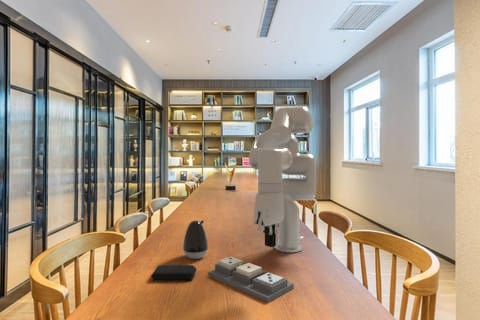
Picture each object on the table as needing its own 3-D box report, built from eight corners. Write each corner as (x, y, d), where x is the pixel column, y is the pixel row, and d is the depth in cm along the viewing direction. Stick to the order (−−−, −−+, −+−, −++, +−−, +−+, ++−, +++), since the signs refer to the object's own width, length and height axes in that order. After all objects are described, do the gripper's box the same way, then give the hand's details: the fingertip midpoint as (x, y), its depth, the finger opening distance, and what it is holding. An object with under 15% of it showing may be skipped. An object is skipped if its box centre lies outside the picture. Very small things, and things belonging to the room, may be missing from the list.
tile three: (268, 278, 100) (268, 271, 100) (283, 284, 96) (283, 277, 96) (256, 284, 96) (256, 277, 96) (271, 290, 92) (271, 283, 92)
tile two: (230, 261, 113) (230, 255, 113) (242, 266, 109) (242, 259, 109) (218, 266, 109) (218, 260, 108) (230, 270, 104) (230, 264, 104)
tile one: (248, 268, 107) (248, 262, 106) (261, 273, 102) (261, 266, 102) (236, 273, 102) (236, 266, 102) (249, 278, 98) (249, 271, 98)
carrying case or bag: (197, 270, 113) (157, 270, 113) (197, 262, 113) (157, 262, 113) (193, 282, 102) (149, 283, 102) (193, 274, 102) (149, 274, 102)
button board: (234, 265, 116) (234, 256, 116) (293, 288, 98) (293, 277, 97) (208, 275, 107) (208, 266, 107) (267, 302, 88) (267, 290, 88)
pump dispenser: (213, 255, 128) (212, 219, 128) (197, 263, 119) (197, 224, 119) (194, 251, 133) (193, 216, 133) (177, 258, 124) (177, 221, 124)
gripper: (275, 184, 103) (275, 238, 104) (244, 189, 92) (245, 249, 93) (293, 186, 98) (293, 243, 99) (263, 192, 87) (264, 255, 88)
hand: (270, 245), depth 96 cm, fingers closed
